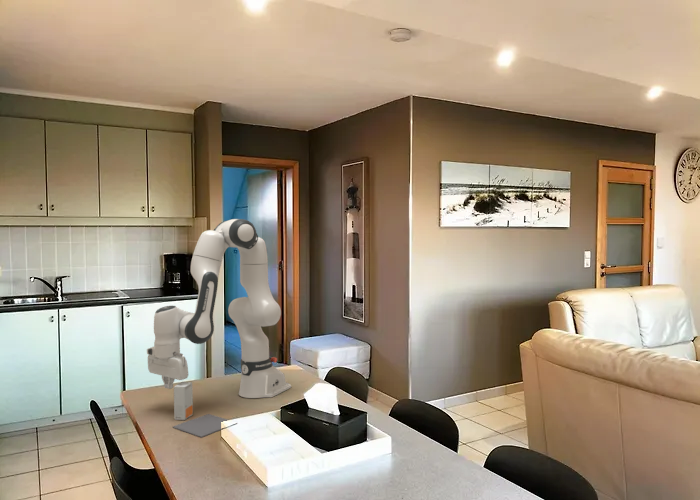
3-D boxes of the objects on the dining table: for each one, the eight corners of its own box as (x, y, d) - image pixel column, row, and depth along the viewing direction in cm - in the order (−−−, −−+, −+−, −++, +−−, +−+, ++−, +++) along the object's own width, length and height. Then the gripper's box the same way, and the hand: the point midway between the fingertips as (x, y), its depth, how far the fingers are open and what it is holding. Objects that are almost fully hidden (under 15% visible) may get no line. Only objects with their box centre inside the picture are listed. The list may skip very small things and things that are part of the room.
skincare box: (185, 420, 187) (184, 386, 187) (174, 419, 188) (173, 386, 188) (193, 414, 193) (192, 381, 193) (182, 414, 194) (181, 381, 193)
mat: (208, 414, 192) (208, 413, 192) (237, 423, 183) (237, 422, 183) (172, 427, 180) (172, 426, 180) (201, 437, 171) (201, 436, 171)
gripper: (192, 352, 191) (193, 390, 192) (159, 345, 204) (160, 381, 204) (176, 356, 186) (178, 395, 187) (144, 349, 199) (145, 385, 199)
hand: (168, 387), depth 196 cm, fingers closed
